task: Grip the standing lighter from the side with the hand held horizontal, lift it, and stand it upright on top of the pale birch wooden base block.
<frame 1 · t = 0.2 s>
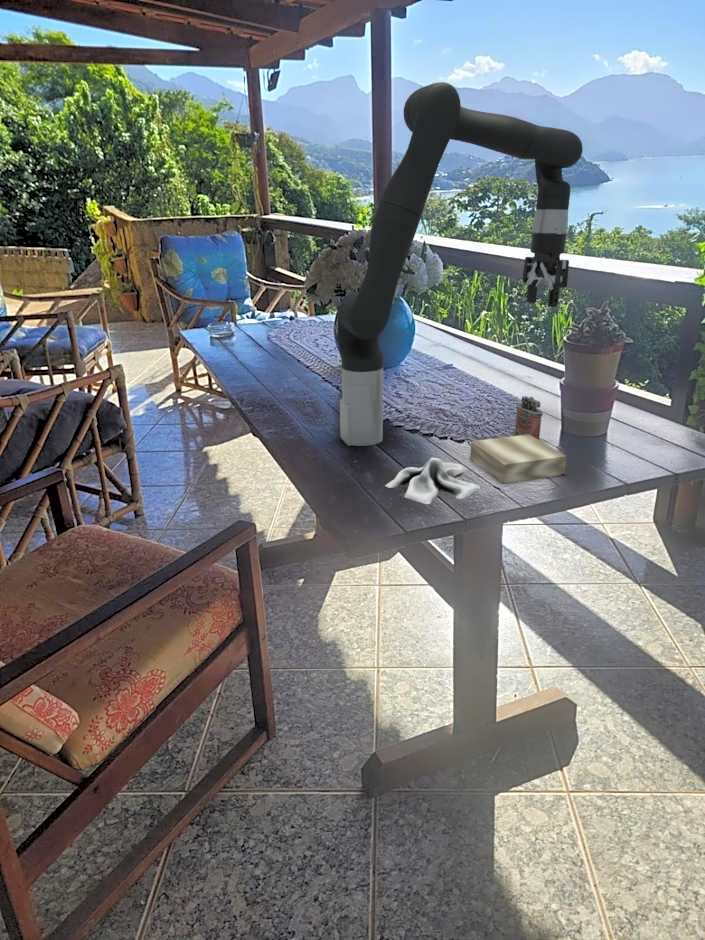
hand: (541, 304, 156), 29 cm above the table, tool pointing down, fingers open, 8 cm apart
cloth: (426, 487, 131), on the table
lighter: (526, 440, 154), on the table
base block: (515, 466, 139), on the table
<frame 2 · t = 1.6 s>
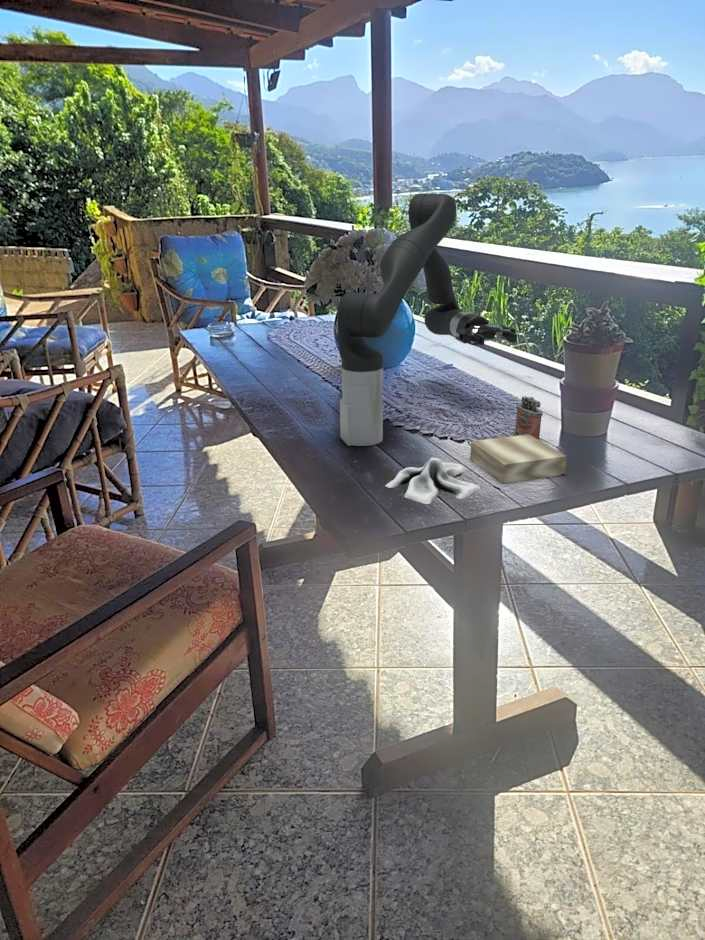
hand: (499, 339, 160), 20 cm above the table, tool horizontal, fingers open, 8 cm apart
nothing on the table moved.
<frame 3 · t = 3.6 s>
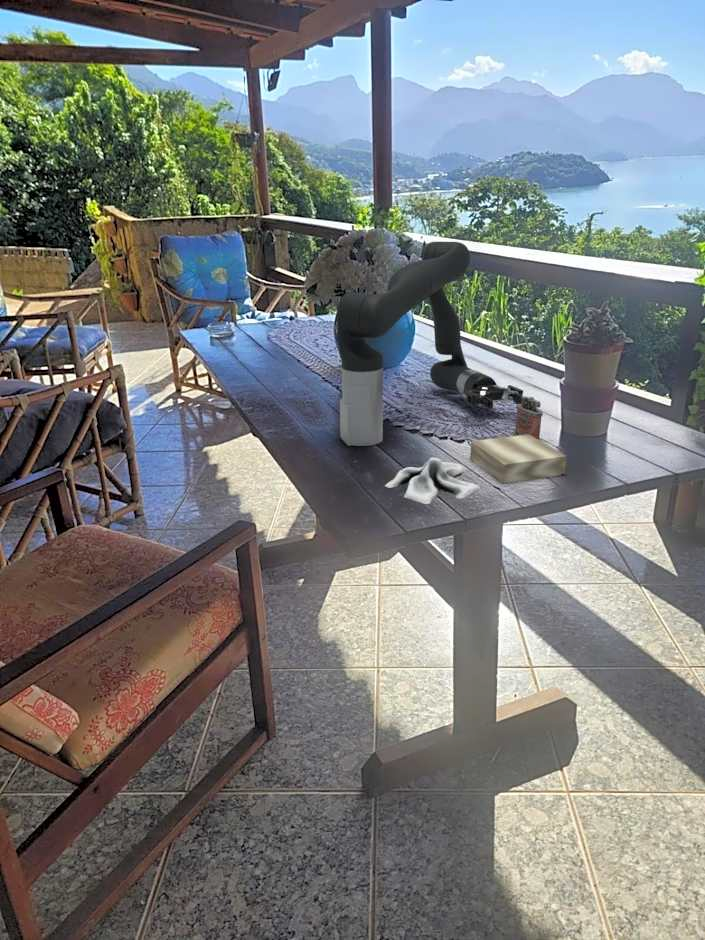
hand: (507, 403, 160), 6 cm above the table, tool horizontal, fingers open, 8 cm apart
nothing on the table moved.
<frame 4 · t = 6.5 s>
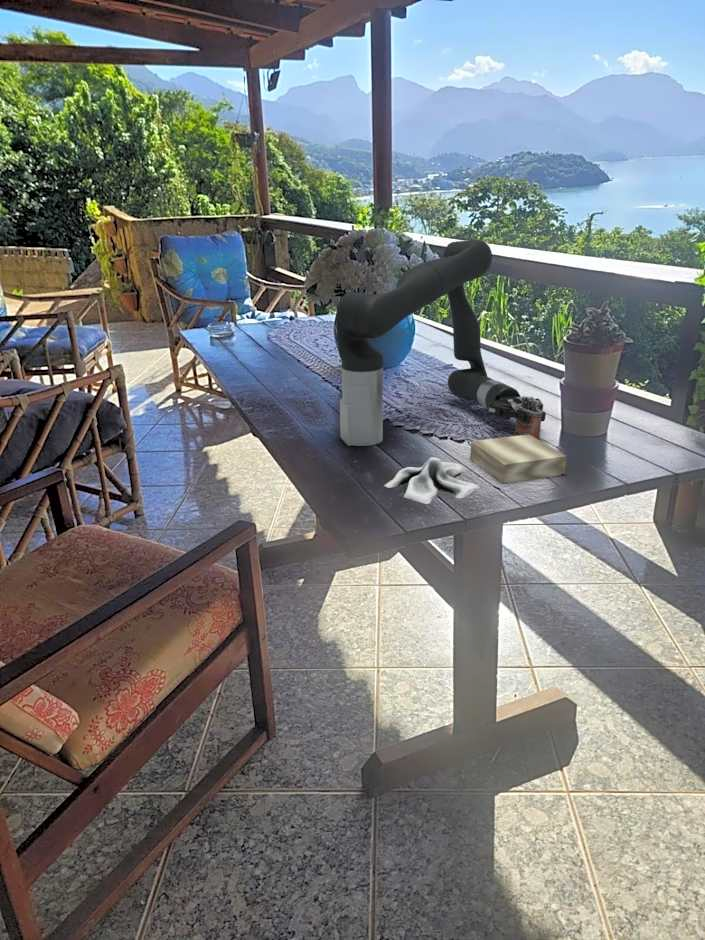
hand: (535, 418, 149), 6 cm above the table, tool horizontal, fingers closed on lighter, 3 cm apart
lighter: (526, 440, 154), on the table, touching gripper
everything else where it was.
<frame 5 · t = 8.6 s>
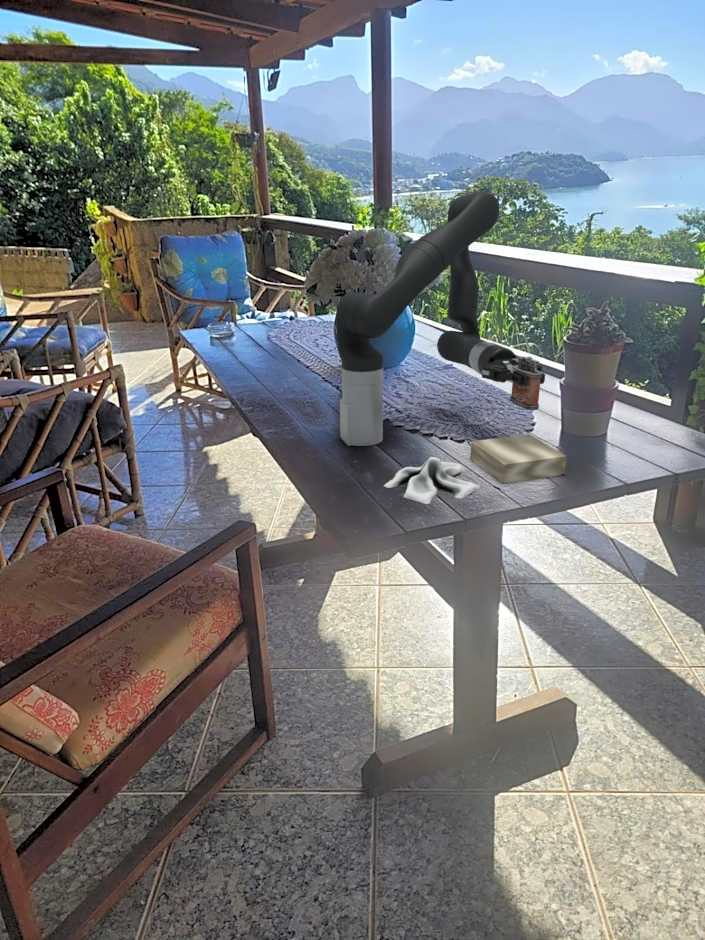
hand: (534, 379, 134), 18 cm above the table, tool horizontal, fingers closed on lighter, 3 cm apart
lighter: (524, 405, 139), point 12 cm above the table, touching gripper
everything else where it was.
when the fingers open (11 cm above the table, at t = 10.8 s): lighter drops 1 cm, resting on base block.
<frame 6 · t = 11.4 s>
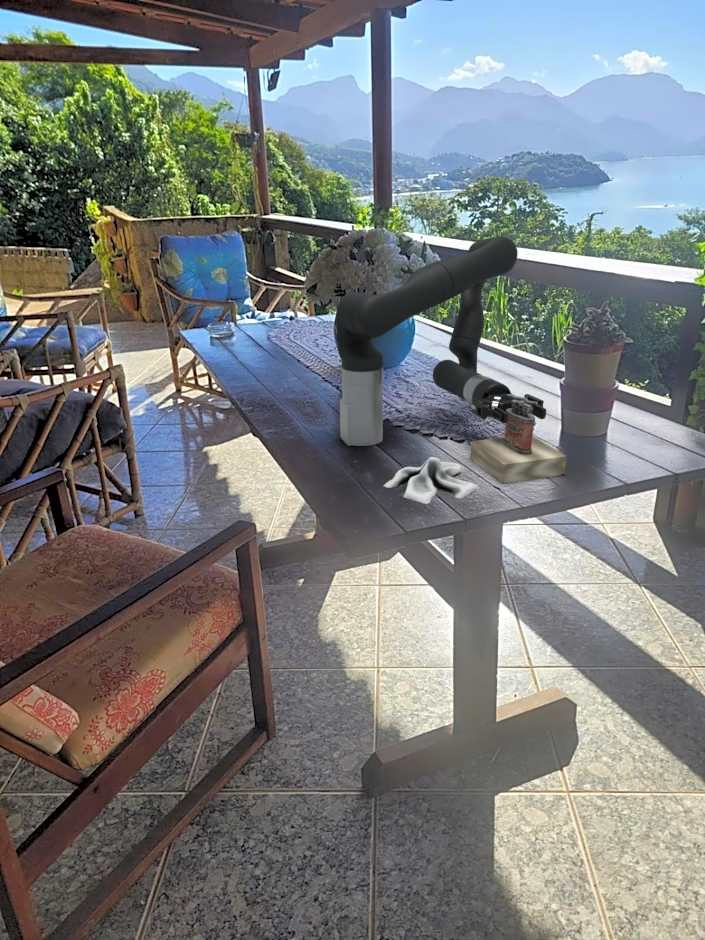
hand: (525, 416, 133), 12 cm above the table, tool horizontal, fingers open, 8 cm apart
lighter: (517, 449, 137), point 4 cm above the table, touching base block
everything else where it was.
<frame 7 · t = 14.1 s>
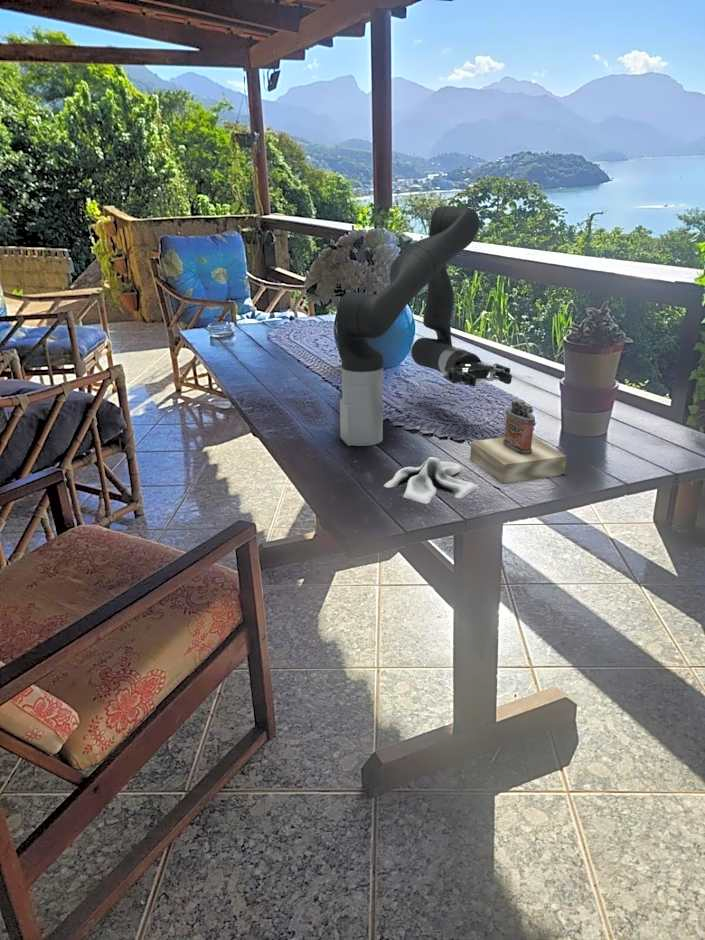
hand: (492, 380, 144), 15 cm above the table, tool horizontal, fingers open, 8 cm apart
nothing on the table moved.
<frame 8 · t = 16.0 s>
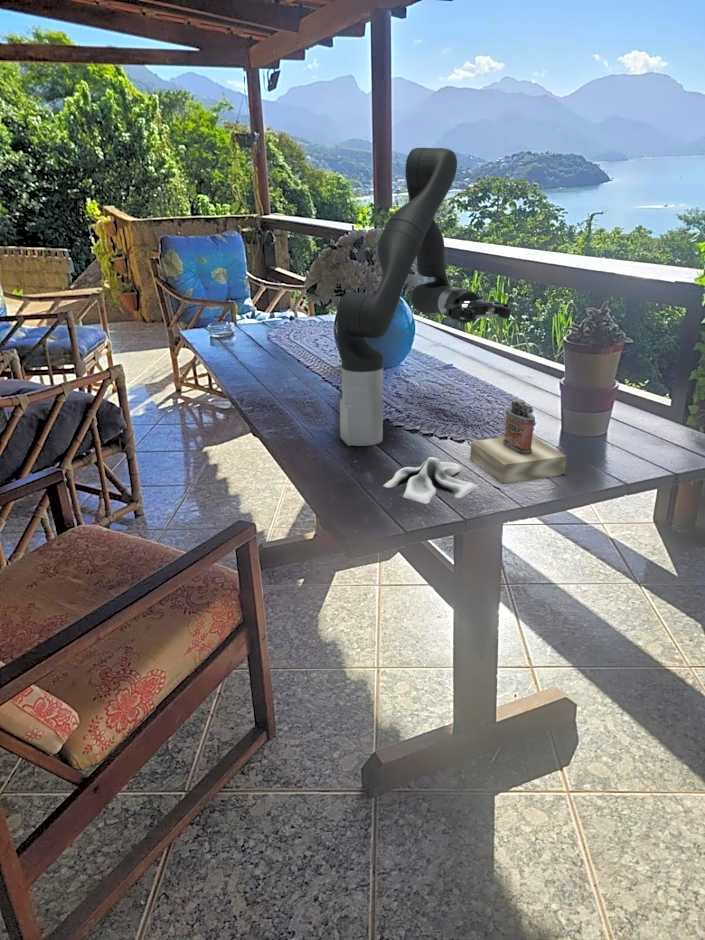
hand: (491, 314, 147), 28 cm above the table, tool horizontal, fingers open, 8 cm apart
nothing on the table moved.
at the end: lighter inside the target area on the base block (0.1 cm from its centre), point 3.8 cm above the base block's base; lighter tilted 0°; the gripper is holding nothing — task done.
